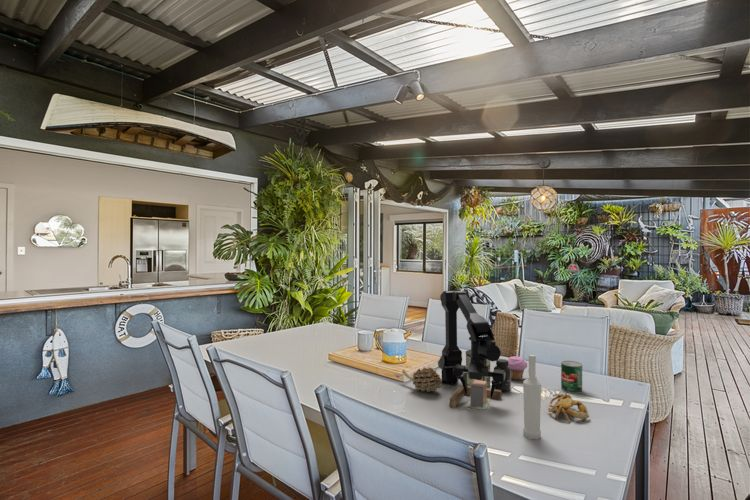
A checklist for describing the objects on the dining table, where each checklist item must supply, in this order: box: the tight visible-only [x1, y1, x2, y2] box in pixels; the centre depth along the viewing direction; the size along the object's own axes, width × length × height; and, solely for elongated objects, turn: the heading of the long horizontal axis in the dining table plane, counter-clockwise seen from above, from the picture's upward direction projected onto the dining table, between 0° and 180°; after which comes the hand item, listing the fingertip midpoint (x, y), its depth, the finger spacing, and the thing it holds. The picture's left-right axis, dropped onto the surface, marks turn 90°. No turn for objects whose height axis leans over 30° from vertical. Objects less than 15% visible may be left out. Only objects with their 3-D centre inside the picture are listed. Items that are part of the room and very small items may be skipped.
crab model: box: [547, 392, 590, 423], centre depth 143 cm, size 16×13×6 cm
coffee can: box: [465, 349, 492, 389], centre depth 173 cm, size 10×10×14 cm
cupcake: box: [507, 355, 528, 381], centre depth 182 cm, size 9×9×10 cm
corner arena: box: [449, 384, 502, 411], centre depth 154 cm, size 16×17×3 cm
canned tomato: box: [560, 360, 583, 395], centre depth 167 cm, size 8×8×11 cm
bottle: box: [522, 354, 542, 440], centre depth 127 cm, size 5×5×25 cm
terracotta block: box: [470, 380, 487, 407], centre depth 153 cm, size 8×4×7 cm, turn 155°
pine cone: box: [401, 366, 443, 393], centre depth 168 cm, size 22×10×10 cm, turn 44°
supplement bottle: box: [493, 358, 512, 393], centre depth 168 cm, size 7×7×12 cm
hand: (478, 395), depth 153 cm, fingers open, 9 cm apart
